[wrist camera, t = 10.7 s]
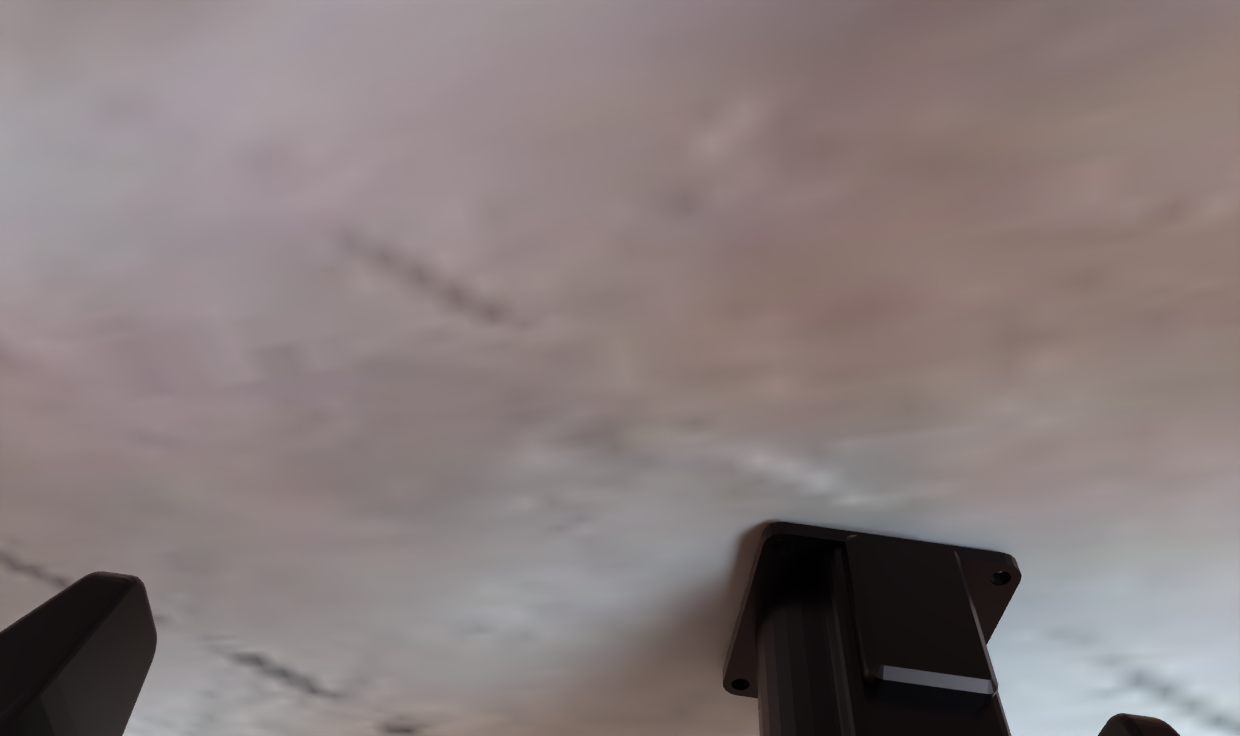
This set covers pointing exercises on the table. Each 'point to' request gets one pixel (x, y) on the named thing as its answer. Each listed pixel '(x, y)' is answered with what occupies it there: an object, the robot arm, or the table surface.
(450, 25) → the table surface
